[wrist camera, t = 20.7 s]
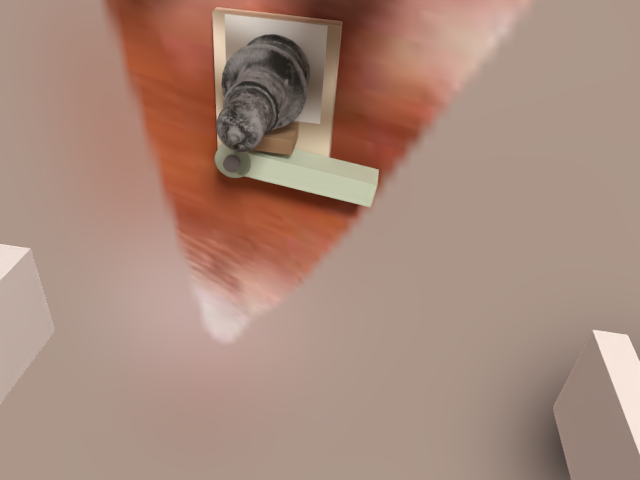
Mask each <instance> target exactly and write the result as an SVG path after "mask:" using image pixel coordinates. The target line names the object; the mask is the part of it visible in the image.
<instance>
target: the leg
mask: <svg viewBox="0 0 640 480" xmlns="http://www.w3.org/2000/svg"><path fill="white" fill-rule="evenodd" d="M215 163H216V166H217V168H218V169H219V170H220V172H222V173H223V174H224V175H226V176H228V177H231V178H240V177H243V176H246V177H250V178H254V179H258V180H262V181H266V182H270V183H274V184H278V185H282V186H286V187H290V188H294V189H298V190H302V191H306V192H310V193H314V194H319V195H323V196H327V197H331V198H335V199H339V200H343V201H347V202H351V203H355V204H359V205H363V206H367V207H371V204H372V201H373V198H374V194H375V191H376V188H377V183H378V173H379V170H378V169H374V168H370V167H366V166H362V165H358V164H354V163H350V162H346V161H342V160H337V159H333V158H329V157H325V156H321V155H317V154H313V153H309V152H305V151H301V150H297V149H294V150H293V153H292V155H288V154H280V153H272V152H264V151H257V150H250V151H247V152H237V151H234V150H232V149H229V148H228V147H227V146H225V145H224V144H223V143H222V144H221V146H220V147H219V149H218V150H217V152H216V154H215Z"/></svg>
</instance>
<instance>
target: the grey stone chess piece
mask: <svg viewBox="0 0 640 480" xmlns="http://www.w3.org/2000/svg"><path fill="white" fill-rule="evenodd" d="M309 80H310V66H309V63H308V60H307V57H306V55H305V54H304V52H303V51H302V49H301V48H300V47H299V46H298V45H297V44H296V43H295V42H294V41H292V40H290V39H288V38H286V37H284V36H280V35H276V34H268V35H262V36H259V37H257V38H255V39H253V40H252V41H251V42H249V43H248V44H247V46H246V47H243V48H241V49H240V50H238V51H237V52H235V53H234V54H233V55H232V56H231V58H230V59H229V60H228V61H227V63H226V65H225V68H224V70H223V73H222V84H221V85H222V90H223V96H224V100H223V109H222V111H221V112H220V114H219V116H218V118H217V124H216V130H217V134H218V136H219V138H220V140H221V141H222V143H223V144H224V145H225V146H227V147H228V148H229V149H232V150H234V151H237V152H247V151H250V150H252V149H254V148H255V147H257V146H258V145H259V143H260V142H261V141H262V139H263V137H264V136H265V135H267V134H268V133H270V132H271V131H272V130H273V129H277V128H280V127H284V126H286V125H288V124H289V123H291V122H293V121H294V120H295V119H296V118H297V117H298V116H299V114H300V113H301V112H302V109H303V107H304V105H305V103H306V98H307V87H308V85H309Z"/></svg>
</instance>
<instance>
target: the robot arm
mask: <svg viewBox="0 0 640 480" xmlns="http://www.w3.org/2000/svg"><path fill="white" fill-rule="evenodd" d="M54 331H55V329H54V326H53V323H52V319H51V316H50V312H49V309H48V306H47V302H46V299H45V295H44V292H43V288H42V285H41V282H40V279H39V275H38V271H37V268H36V265H35V261H34V258H33V255H32V251H31V249H30V248H24V247H17V246H10V245H3V244H0V404H1V403H2V401H3V400H4V399H5V397H6V396H7V395H8V393H9V392H10V390H11V389H12V388H13V386H14V385H15V384H16V383H17V381H18V380H19V379H20V377H21V376H22V374H23V373H24V372H25V370H26V369H27V368H28V366H29V365H30V363H31V362H32V361H33V359H34V358H35V357H36V356H37V354H38V353H39V351H40V350H41V349H42V347H43V346H44V345H45V343H46V342H47V341H48V339H49V338H50V337H51V335H52V334H53V332H54ZM553 411H554V414H555V418H556V422H557V426H558V430H559V434H560V438H561V442H562V446H563V450H564V453H565V458H566V462H567V465H568V469H569V473H570V477H571V480H640V361H639V359H638V357H637V355H636V352H635V350H634V348H633V346H632V343H631V341H630V339H629V337H628V335H625V334H617V333H611V332H604V331H597V330H592V332H591V334H590V336H589V338H588V340H587V342H586V343H585V346H584V347H583V349H582V351H581V353H580V355H579V357H578V359H577V361H576V363H575V365H574V367H573V369H572V371H571V373H570V375H569V377H568V379H567V381H566V383H565V385H564V387H563V389H562V391H561V392H560V394H559V396H558V399H557V400H556V402H555V404H554V406H553Z"/></svg>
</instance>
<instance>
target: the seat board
mask: <svg viewBox="0 0 640 480" xmlns="http://www.w3.org/2000/svg"><path fill="white" fill-rule="evenodd" d="M212 15H213V41H214V66H215V91H216V116H217V118H218V116H219V114H220V112H221V111H222V109H223V100H224V96H223V90H222V85H221V84H222V73H223V70H224V68H225V65H226V63H227V61H228V60H229V59H230V58H231V56H232V55H233V54H234V53H235V52H237V51H238V50H240V49H241V48H243V47H246V46H247V44H248V43H249V42H251V41H252V40H253V39H255V38H257V37H259V36H262V35H268V34H276V35H280V36H284V37H286V38H288V39H290V40H292V41H294V42H295V43H296V44H297V45H298V46H299V47H300V48H301V49H302V51H303V52H304V54H305V55H306V57H307V60H308V63H309V66H310V80H309V85H308V87H307V98H306V103H305V105H304V107H303V109H302V112H301V113H300V114H299V116H298V117H297V118H296V119H295V120H294V121H293V122H291V123H289V124H288V125H286V126H284V127H280V128H277V129H273V130H272V131H271V132H270V133H268V134H267V135H265V136H264V137H263V139H262V141H261V142H260V143H259V145H258V146H257V147H255V148H254V149H252V150H257V151H264V152H272V153H280V154H288V155H292V153H293V150H294V149H297V150H301V151H305V152H309V153H313V154H317V155H321V156H325V157H329V158H330V151H331V140H332V130H333V119H334V108H335V97H336V87H337V76H338V65H339V55H340V44H341V33H342V23H343V21H337V20H328V19H319V18H310V17H301V16H292V15H283V14H274V13H265V12H256V11H247V10H239V9H230V8H221V7H217V8H216V9H214V10H213V11H212ZM217 142H218V149H219V147H220V146H221V144H222V141H221V140H220V138H219V136H218V134H217Z"/></svg>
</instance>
